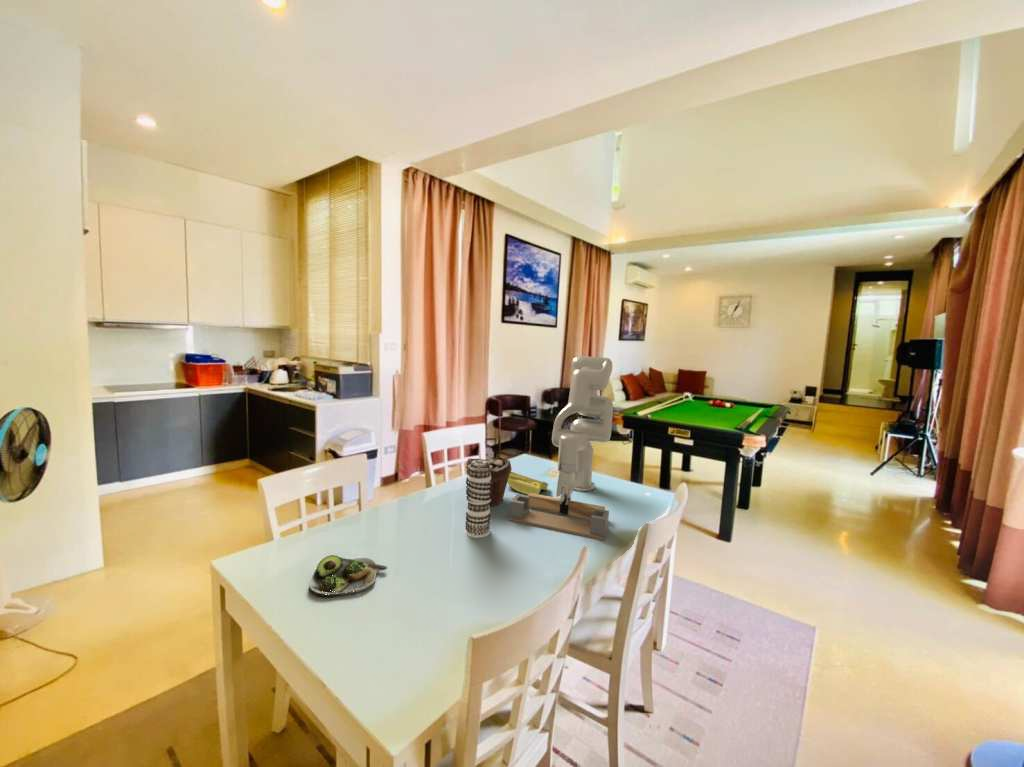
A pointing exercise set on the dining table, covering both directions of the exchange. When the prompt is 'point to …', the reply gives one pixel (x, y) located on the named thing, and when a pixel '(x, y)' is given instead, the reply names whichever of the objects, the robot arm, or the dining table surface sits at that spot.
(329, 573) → the salad plate
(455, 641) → the dining table surface
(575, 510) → the slat
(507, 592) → the dining table surface
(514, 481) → the plastic component
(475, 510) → the tower model
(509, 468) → the brown pot
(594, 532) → the end cap frame
